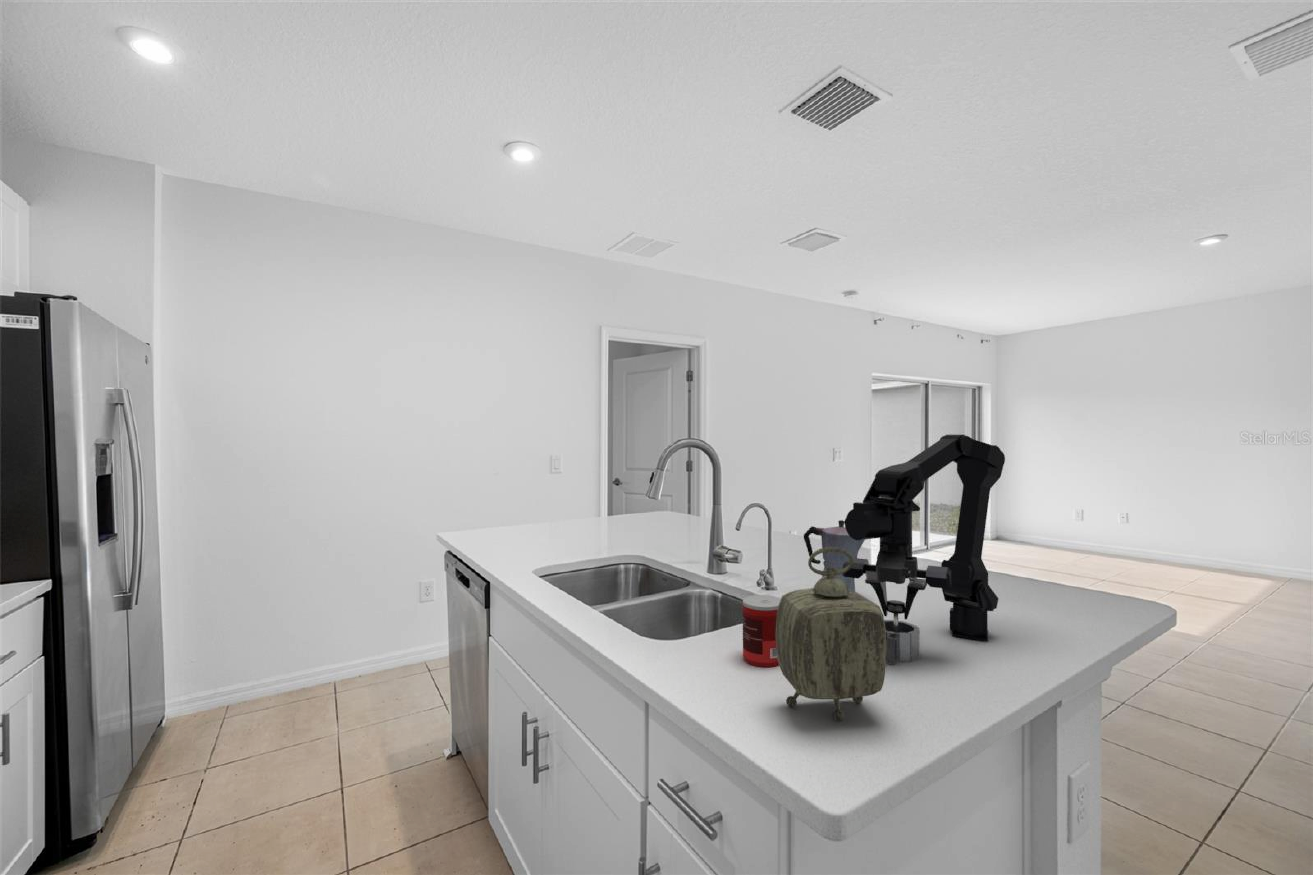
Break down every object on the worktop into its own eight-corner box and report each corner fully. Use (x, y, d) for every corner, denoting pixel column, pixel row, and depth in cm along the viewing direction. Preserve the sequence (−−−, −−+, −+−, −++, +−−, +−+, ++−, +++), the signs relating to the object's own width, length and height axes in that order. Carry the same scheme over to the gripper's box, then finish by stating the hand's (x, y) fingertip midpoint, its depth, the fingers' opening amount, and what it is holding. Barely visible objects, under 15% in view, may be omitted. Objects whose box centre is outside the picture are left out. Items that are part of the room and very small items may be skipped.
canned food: (787, 654, 111) (786, 596, 111) (781, 670, 103) (781, 608, 103) (747, 649, 113) (746, 593, 113) (739, 664, 106) (738, 604, 106)
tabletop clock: (863, 697, 93) (863, 540, 92) (893, 725, 84) (893, 552, 83) (775, 702, 91) (775, 543, 91) (796, 732, 82) (795, 556, 82)
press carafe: (921, 649, 112) (921, 624, 112) (915, 669, 103) (915, 641, 103) (877, 642, 116) (876, 617, 116) (867, 661, 107) (867, 633, 107)
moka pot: (871, 607, 140) (870, 523, 139) (804, 603, 143) (804, 522, 142) (865, 595, 149) (864, 518, 149) (803, 592, 152) (802, 516, 152)
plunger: (911, 645, 112) (910, 601, 112) (907, 653, 108) (907, 608, 107) (884, 640, 114) (884, 597, 114) (880, 648, 110) (880, 604, 110)
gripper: (836, 538, 108) (836, 621, 108) (948, 547, 99) (947, 639, 99) (848, 529, 118) (848, 606, 118) (951, 537, 109) (951, 620, 109)
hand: (895, 617), depth 111 cm, fingers closed on plunger, 3 cm apart
